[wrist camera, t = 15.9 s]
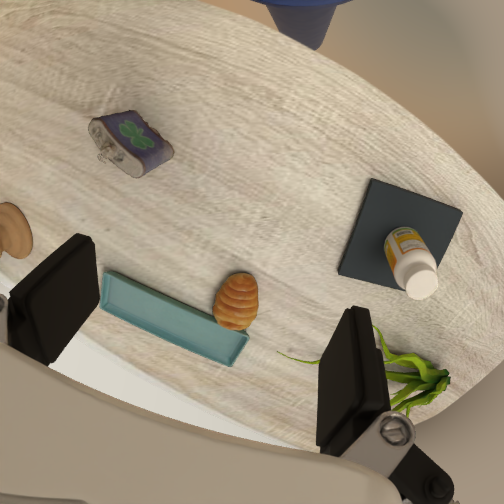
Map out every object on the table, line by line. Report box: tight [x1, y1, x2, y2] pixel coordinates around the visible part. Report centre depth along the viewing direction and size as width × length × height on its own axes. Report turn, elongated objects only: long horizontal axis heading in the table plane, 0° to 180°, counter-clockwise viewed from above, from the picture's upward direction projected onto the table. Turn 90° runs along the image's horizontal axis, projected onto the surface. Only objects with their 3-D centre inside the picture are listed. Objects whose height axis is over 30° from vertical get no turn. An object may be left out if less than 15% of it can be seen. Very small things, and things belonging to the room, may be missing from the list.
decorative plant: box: [277, 325, 451, 417], centre depth 45 cm, size 18×30×15 cm, turn 51°
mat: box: [338, 178, 463, 291], centre depth 40 cm, size 14×14×1 cm
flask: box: [88, 110, 174, 178], centre depth 34 cm, size 9×3×11 cm, turn 44°
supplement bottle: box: [384, 227, 438, 300], centre depth 35 cm, size 5×5×10 cm
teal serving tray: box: [100, 271, 249, 367], centre depth 52 cm, size 26×9×2 cm, turn 67°
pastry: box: [212, 273, 258, 330], centre depth 47 cm, size 9×7×4 cm
